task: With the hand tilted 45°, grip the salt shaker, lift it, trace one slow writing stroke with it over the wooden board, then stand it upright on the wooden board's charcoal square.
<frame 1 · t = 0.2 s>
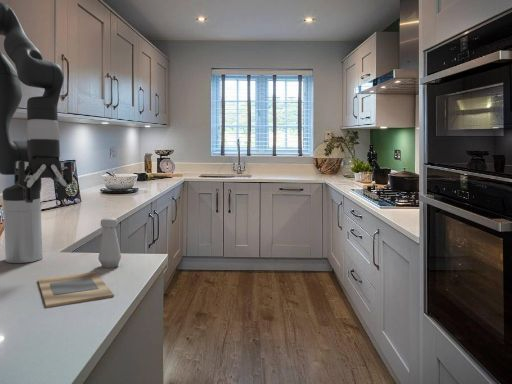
hand: (45, 201, 113), 18 cm above the counter, tool pointing down, fingers open, 8 cm apart
salt shaker: (110, 266, 117), on the counter
wooden board: (73, 288, 98), on the counter
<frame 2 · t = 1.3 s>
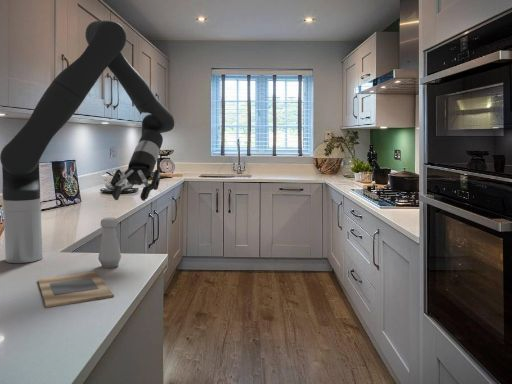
hand: (128, 198, 127), 17 cm above the counter, tool tilted 45°, fingers open, 8 cm apart
nothing on the counter moved.
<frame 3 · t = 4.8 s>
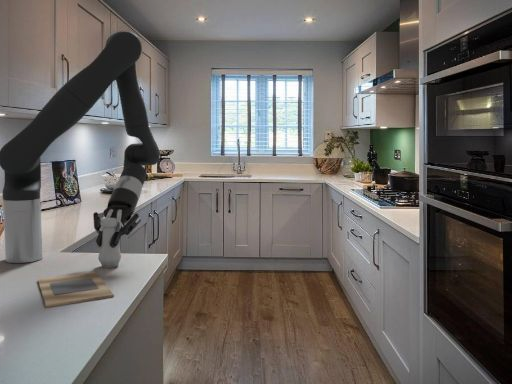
hand: (105, 245, 115), 6 cm above the counter, tool tilted 45°, fingers closed on salt shaker, 3 cm apart
salt shaker: (110, 266, 117), on the counter, touching gripper
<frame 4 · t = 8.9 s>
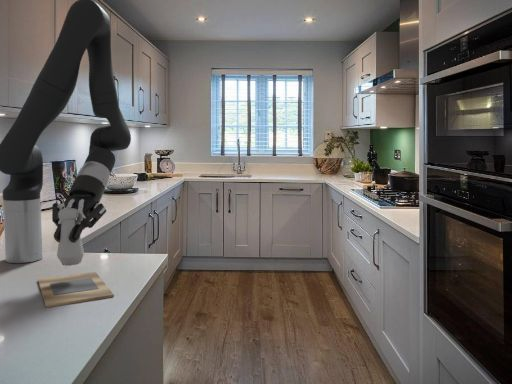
hand: (64, 240, 100), 10 cm above the counter, tool tilted 45°, fingers closed on salt shaker, 3 cm apart
salt shaker: (71, 264, 103), point 4 cm above the counter, touching gripper
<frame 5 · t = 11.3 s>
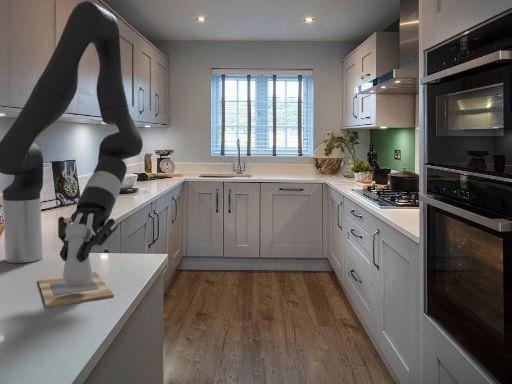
hand: (72, 259, 91), 8 cm above the counter, tool tilted 45°, fingers closed on salt shaker, 3 cm apart
salt shaker: (78, 285, 93), point 2 cm above the counter, touching gripper
when the fingers open (8 cm above the counter, at t = 13.4 s): salt shaker stays where it is, resting on wooden board.
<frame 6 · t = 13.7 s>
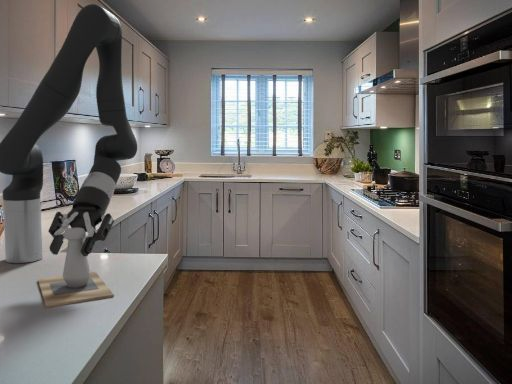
hand: (68, 253, 95), 8 cm above the counter, tool tilted 45°, fingers open, 6 cm apart
salt shaker: (77, 285, 98), resting on wooden board
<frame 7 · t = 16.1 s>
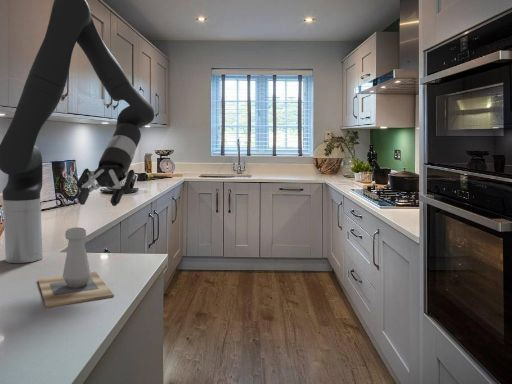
hand: (96, 203, 107), 18 cm above the counter, tool tilted 45°, fingers open, 8 cm apart
nothing on the counter moved.
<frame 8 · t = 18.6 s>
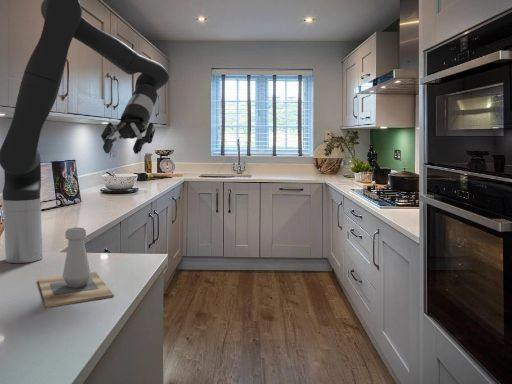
hand: (120, 151, 119), 31 cm above the counter, tool tilted 45°, fingers open, 8 cm apart
nothing on the counter moved.
at the end: salt shaker inside the target area on the wooden board (0.8 cm from its centre), point 0.4 cm above the wooden board's base; salt shaker tilted 0°; the gripper is holding nothing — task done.
